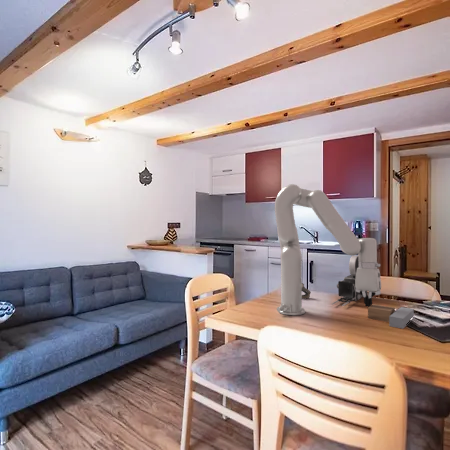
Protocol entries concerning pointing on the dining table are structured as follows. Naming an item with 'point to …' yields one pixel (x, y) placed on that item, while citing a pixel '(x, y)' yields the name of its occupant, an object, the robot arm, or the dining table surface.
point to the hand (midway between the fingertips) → (368, 306)
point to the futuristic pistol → (307, 293)
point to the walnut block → (380, 312)
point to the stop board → (401, 317)
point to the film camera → (349, 284)
